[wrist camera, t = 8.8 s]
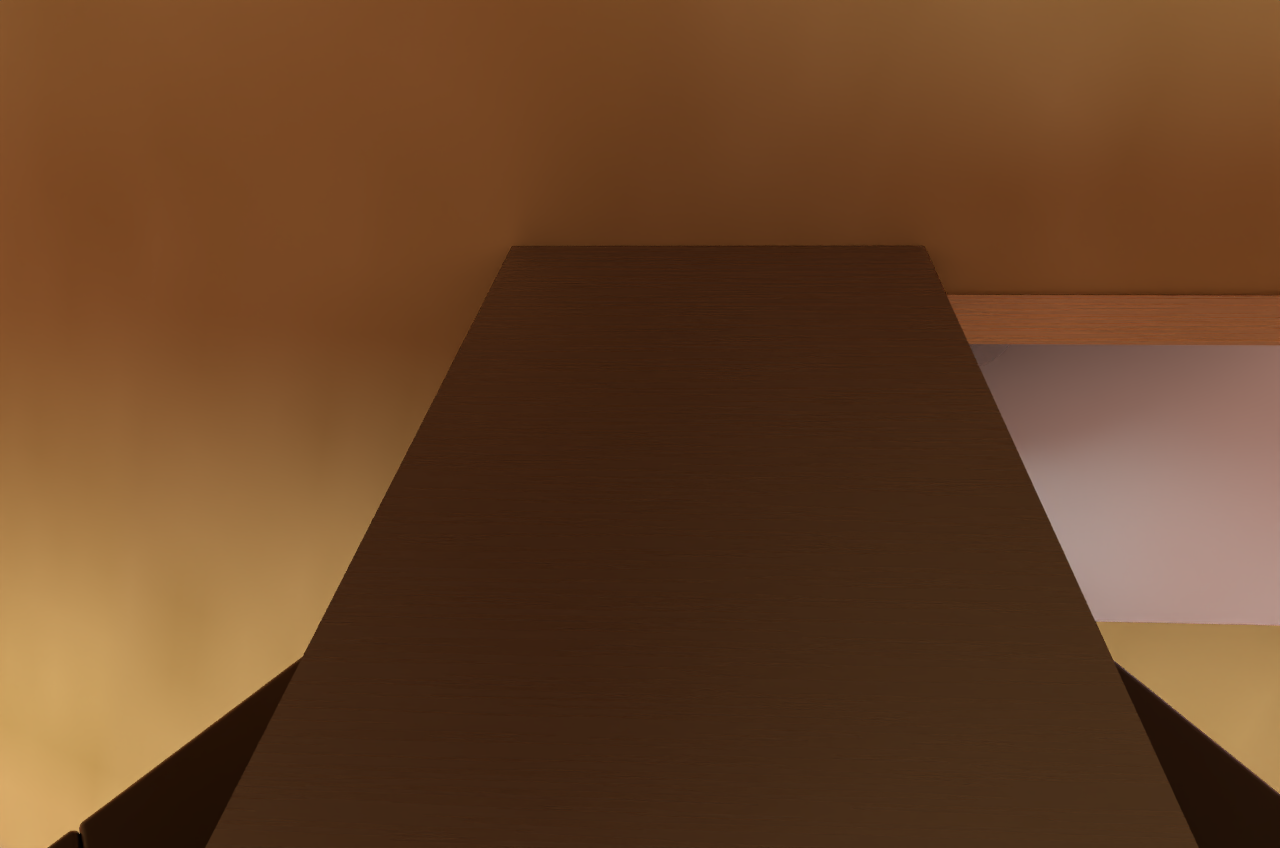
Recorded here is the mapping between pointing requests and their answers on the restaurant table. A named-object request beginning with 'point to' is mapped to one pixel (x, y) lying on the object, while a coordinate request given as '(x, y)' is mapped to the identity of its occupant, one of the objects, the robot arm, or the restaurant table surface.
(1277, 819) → the robot arm
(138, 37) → the restaurant table surface
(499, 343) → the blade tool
